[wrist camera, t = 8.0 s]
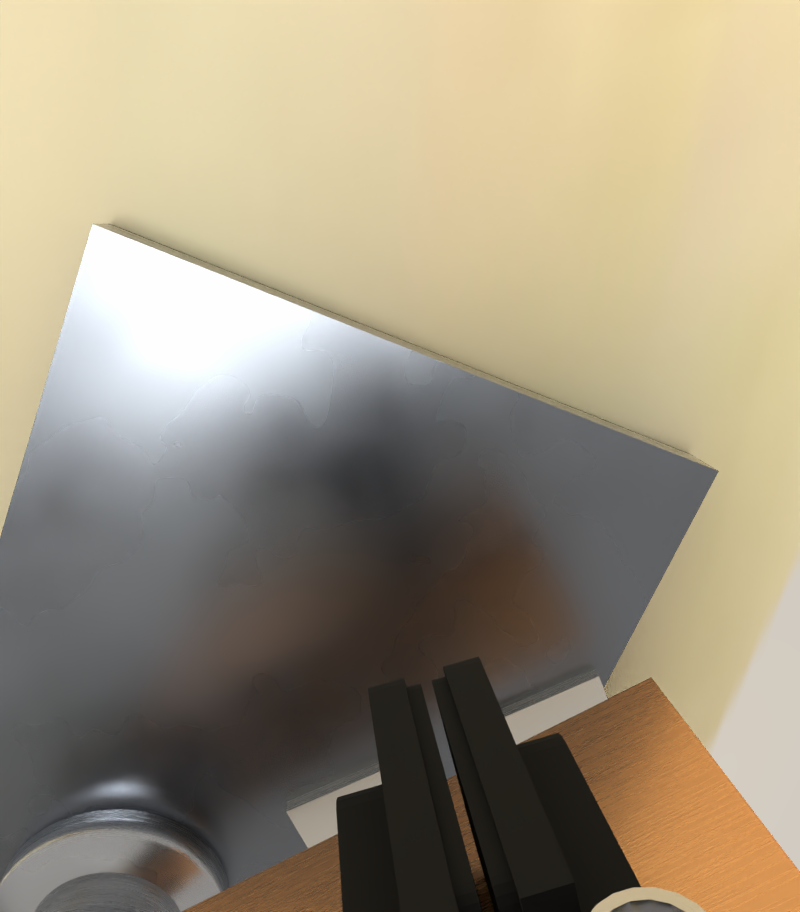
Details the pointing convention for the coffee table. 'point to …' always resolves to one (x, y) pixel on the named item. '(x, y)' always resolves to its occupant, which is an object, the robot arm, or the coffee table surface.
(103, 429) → the post base
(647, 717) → the orange boxy piece
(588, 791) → the robot arm
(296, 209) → the coffee table surface
